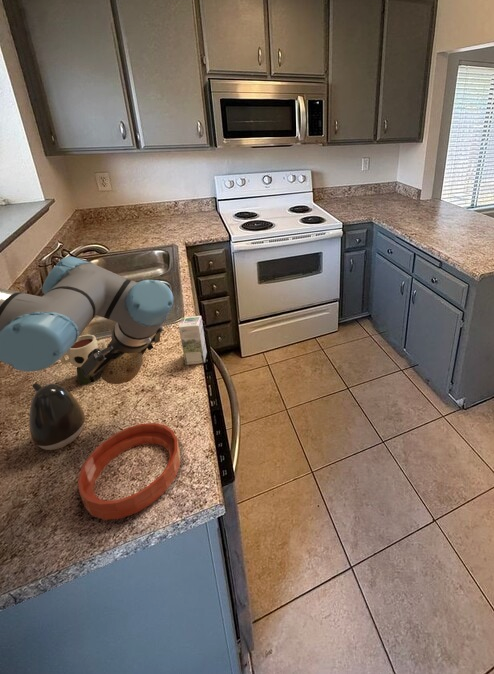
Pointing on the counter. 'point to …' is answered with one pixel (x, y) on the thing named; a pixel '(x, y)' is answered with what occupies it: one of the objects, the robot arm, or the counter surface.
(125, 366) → the natural sponge
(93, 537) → the counter surface
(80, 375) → the character mug
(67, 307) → the robot arm
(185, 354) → the syrup box
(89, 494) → the orange rubber ring
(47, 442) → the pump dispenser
